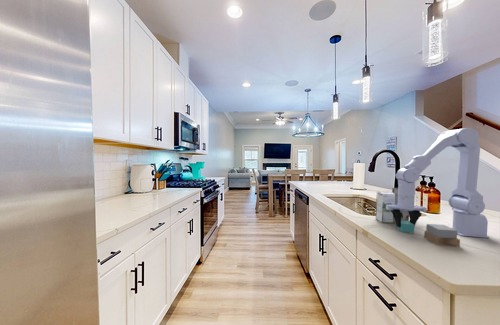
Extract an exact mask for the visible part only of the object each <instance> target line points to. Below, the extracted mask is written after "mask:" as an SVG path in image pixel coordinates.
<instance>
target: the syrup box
mask: <svg viewBox="0 0 500 325" xmlns="http://www.w3.org/2000/svg"><path fill="white" fill-rule="evenodd" d="M375 202H376V203H375V204H376V205H375V206H376V207H375V220H376V221H379V222H380V223H386V224H387V223H388V224H390V223H391V224H395V222H394V216H393V214H392V212H391V210H387V209H386V205H395V194H394V193H392V191H376V201H375Z"/></svg>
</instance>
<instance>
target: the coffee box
mask: <svg viewBox="0 0 500 325" xmlns="http://www.w3.org/2000/svg"><path fill="white" fill-rule="evenodd" d="M391 192H392V193H394V194H395V205H398V187H392V188H391ZM400 211H401V213H403V214H402V217H401V221H410V217H409V211H403V210H400ZM394 223H396V221H395V218H394Z"/></svg>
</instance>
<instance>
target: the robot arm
mask: <svg viewBox="0 0 500 325" xmlns="http://www.w3.org/2000/svg"><path fill="white" fill-rule="evenodd" d="M479 134H480V133H479V132H477V130H475V129H474V128H471V127H464V128H463V127H462V128H459V129H458V128H457V129H450V130H449V129H448V130H445V131H443V132H442V133H441V134H439V135H438V137H437V139H436V140H435V141H434V142H433V143H432V144H431V145H430V147H428V149H427V150H426V151H424V153H423V154H418V155H415V156H412V159H411V161H410V162H408V164H404V167H403V168H400V169H398V170H397V172H396V173H395V179H397V185H398V186H397V188H398V205H386V209H387V210H391V212H392V214H393V216H394V218H395V221H396V222H395V225H396V228H397V227H401V217H402V214H403V213H401V211H400V210H403V211H409V222H411V223H412V224H414V228H415V227H416V224H417V222H418V220H419V219H420V217H422V215H423V214H422V213H427V207H426V206H422V205H421V206H419V205H415V197H416V194H415V193H416V182H417V181H419V179H420V175H421V174H422V173H423V171H425V170H426V169H427V168H428V167H429V166H430V165H431V164H432V159H433V158H435V157H436V156H437V155H439V154H440V153H441V152H442V151H444V150H445V149H446V148H447V147H451V148H454V149H455V150H457V151H458V152H460V153H459V164H458V176H457V183H456V184H457V186H456V188H455V189H454V190H452V191H451V195H450V197H449V199H448V204H449V206H450V208H451V210H452V211H453V212H452V227H451V228H452V229H455V230H457V235H459V236H461V237H474V238H475V237H476V238H490V237H489V236H488V219H487V217H486V215H485V214H482V213H483V212H484V211H485V208H486V204H485V202H484V196H483V195H482V194H481V193H480V192H479V191H478V190H477V188H478V186H477V185H478V176H479V175H478V174H479V165H480V164H479V163H480V156H481V154H480V153H481V145H480V142H479Z"/></svg>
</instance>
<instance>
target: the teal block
mask: <svg viewBox="0 0 500 325" xmlns="http://www.w3.org/2000/svg"><path fill="white" fill-rule="evenodd" d="M409 221H410V220H409ZM409 221H401V227H397V226H396V229H397V230H399V231H400V232H402V233H412V234H414V233H415V227H414V224H412V223H411V222H409Z"/></svg>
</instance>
